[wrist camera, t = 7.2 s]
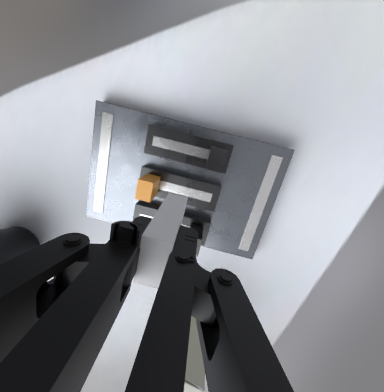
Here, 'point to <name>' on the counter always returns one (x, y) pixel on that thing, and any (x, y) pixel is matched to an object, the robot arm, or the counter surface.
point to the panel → (231, 186)
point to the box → (194, 362)
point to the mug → (16, 242)
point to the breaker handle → (147, 187)
